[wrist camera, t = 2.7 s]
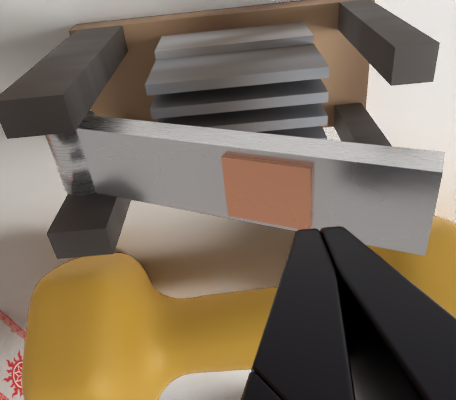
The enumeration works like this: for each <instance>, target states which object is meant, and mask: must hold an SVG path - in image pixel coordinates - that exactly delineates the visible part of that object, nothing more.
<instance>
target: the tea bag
mask: <svg viewBox="0 0 456 400" xmlns="http://www.w3.org/2000/svg"><path fill="white" fill-rule="evenodd" d="M25 336H26V333H25V332H24V331H23V330H22V329H21V328H19V327H18V326H17V325H16V324H15V323H14V322H13V321H12V320H10V319H9V318H8V317H7V316H6V315H5V314H4V313H2V312H1V311H0V400H24V396H23V392H22V364H23V354H24V345H25Z"/></svg>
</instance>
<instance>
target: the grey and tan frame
mask: <svg viewBox="0 0 456 400" xmlns="http://www.w3.org/2000/svg"><path fill="white" fill-rule="evenodd" d="M374 2H375V0H302V1H292V2H283V3H274V4H264V5H255V6H245V7H236V8H227V9H217V10H208V11H198V12H189V13H180V14H170V15H161V16H151V17H142V18H133V19H123V20H114V21H104V22H95V23H86V24H77V25H76V26H74V27H73V28H72V29H71V30H69V33H70V36H69V37H68V38H67V39H66V40H65V41H63V42H62V43H61V44H60V45H59V46H58V47H56V48H55V49H54V50H53V51H52V52H50V53H49V54H48V55H47V56H46V57H44V58H43V59H42V60H41V61H40V62H38V63H37V64H36V65H35V66H34V67H32V68H31V69H30V70H29V71H28V72H27V73H25V74H24V75H23V76H22V77H21V78H19V79H18V80H17V81H16V82H15V83H13V84H12V85H11V86H10V87H9V88H7V89H6V90H5V91H4V92H3V93H1V94H0V123H1V125H2V127H3V130H4V132H5V135H6V137H7V139H9V138H19V137H30V136H40V135H51V134H61V133H72V132H75V131H76V130H77V128H78V127H79V125H80V124H81V122H82V121H83V119H84V118H85V116H86V115H87V113H88V111H89V110H90V108H91V109H92V112H94V113H95V116H102V117H111V118H121V119H130V120H140V121H150V122H159V123H169V124H179V125H188V126H198V127H208V128H217V129H227V130H237V131H246V132H256V133H265V134H275V135H285V136H294V137H304V138H314V139H323V140H327V137H326V135H325V132H324V130H323V127H334V128H335V129H336V131H337V133H338V135H339V137H340V139H341V141H343V142H352V143H362V144H372V145H381V146H391V144H390V143H389V141H388V140H387V139H386V137H385V136H384V134H383V133H382V132H381V130H380V129H379V127H378V126H377V125H376V123H375V122H374V120H373V119H372V118H371V116H370V115H369V113H368V112H367V111H366V97H367V85H368V73H369V63H370V64H371V65H372V66H373V67H374V68H375V69H376V70H377V71H378V72H379V73H380V75H381V76H382V77H383V78H384V79H385V80H386V81H387V82H388V83H389V84H390V85H391V86H392V85H402V84H412V83H423V82H433V79H434V73H435V67H436V61H437V55H438V50H439V44H440V43H439V42H437V41H436V40H434V39H432V38H431V37H429V36H427V35H426V34H424V33H423V32H421V31H419V30H418V29H416V28H415V27H413V26H411V25H410V24H408V23H407V22H405V21H403V20H402V19H400V18H399V17H397V16H395V15H394V14H392V13H391V12H389V11H387V10H386V9H384V8H382V7H381V6H379V5H378V4H376V3H374ZM391 147H392V146H391ZM130 201H131V199H125V198H120V197H115V196H110V195H105V194H99V193H94V194H90V195H85V196H74V195H70V194H68V195H67V197H66V199H65V201H64V202H63V204H62V206H61V208H60V210H59V212H58V214H57V215H56V217H55V219H54V221H53V223H52V225H51V227H50V228H49V230H48V232H47V235H48V237H49V240H50V242H51V245H52V247H53V249H54V252H55V254H56V257H57V259H59V258H72V257H84V256H96V255H108V254H114V252H115V249H116V246H117V242H118V239H119V236H120V233H121V230H122V226H123V223H124V220H125V217H126V214H127V211H128V207H129V204H130Z"/></svg>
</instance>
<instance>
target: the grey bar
mask: <svg viewBox="0 0 456 400" xmlns="http://www.w3.org/2000/svg"><path fill="white" fill-rule="evenodd" d="M45 136H46V138H47V141H48V144H49V147H50V149H51V152H52V155H53V158H54V160H55V163H56V166H57V169H58V172H59V174H60V177H61V180H62V183H63V185H64V188H65V191H66V192H67V193H68V194H70V195H74V196H85V195H90V194H94V193H99V194H105V195H110V196H115V197H120V198H125V199H131V200H136V201H141V202H146V203H151V204H157V205H162V206H167V207H172V208H178V209H183V210H188V211H193V212H198V213H204V214H209V215H214V216H219V217H225V218H230V219H235V220H240V221H245V222H251V223H256V224H261V225H266V226H271V227H277V228H282V229H287V230H292V231H297V230H299V229H311V228H317V229H318V230H319V231H320V229H321V228H324V227H335V226H342V227H344V228H346V229H347V230H348V231H349V232H350V233H352V234H353V235H354V236H355V237H357V238H358V239H359V240H360V241H362V242H363V243H364V244H365V245H371V246H376V247H381V248H386V249H391V250H397V251H402V252H407V253H412V254H418V255H423V256H425V255H426V251H427V246H428V241H429V236H430V231H431V226H432V221H433V217H434V212H435V207H436V202H437V197H438V192H439V187H440V183H441V178H442V173H443V163H444V153H445V152H439V151H429V150H420V149H410V148H400V147H391V146H381V145H372V144H362V143H352V142H343V141H333V140H323V139H314V138H304V137H294V136H285V135H275V134H265V133H256V132H246V131H237V130H227V129H217V128H208V127H198V126H188V125H179V124H169V123H159V122H150V121H140V120H130V119H121V118H111V117H102V116H95V113H94V112H92V111H88V113H87V115H86V116H85V118H84V119H83V121H82V122H81V124H80V125H79V127H78V128H77V130H76V131H75V132H72V133H61V134H51V135H45Z"/></svg>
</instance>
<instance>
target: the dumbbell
mask: <svg viewBox="0 0 456 400" xmlns="http://www.w3.org/2000/svg"><path fill="white" fill-rule="evenodd" d="M366 246H368V247H369V248H370V249H371V250H373V251H374V252H375V253H376V254H378V255H379V256H380V257H381V258H382V259H384V260H385V261H386V262H387V263H389V264H390V265H391V266H392V267H394V268H395V269H396V270H397V271H398V272H400V273H401V274H402V275H403V276H405V277H406V278H407V279H408V280H410V281H411V282H412V283H413V284H414V285H416V286H417V287H418V288H419V289H421V290H422V291H423V292H424V293H426V294H427V295H428V296H429V297H430V298H432V299H433V300H434V301H435V302H437V303H438V304H439V305H440V306H442V307H443V308H444V309H445V310H446V311H448V312H449V313H450V314H451V315H453V316H454V317H455V318H456V224H455V223H453V222H451V221H449V220H446V219H443V218H440V217H437V216H434V217H433V221H432V226H431V231H430V236H429V241H428V246H427V251H426V255H425V256H423V255H418V254H412V253H407V252H402V251H397V250H391V249H386V248H381V247H376V246H371V245H366ZM277 288H278V286H277V287H270V288H262V289H253V290H245V291H237V292H229V293H220V294H212V295H206V296H200V297H194V298H185V299H177V298H172V297H168V296H166V295H163V294H162V293H160V292H159V291H157V290H156V289H155V287H154V286H153V285H152V283H151V281H150V279H149V277H148V275H147V273H146V271H145V270H144V269H143V267H142V266H141V265H140V263H139V262H138V261H137V260H135V259H134V258H133V257H132V256H130V255H127V254H123V253H114V254H108V255H96V256H85V257H80V258H76V259H74V260H71V261H69V262H67V263H64V264H62V265H61V266H59V267H57V268H55V269H54V270H52V271H50V272H49V273H48V274H46V275H45V276H44V277H43V278H41V279H40V281H39V282H38V284H37V285H36V287H35V289H34V291H33V294H32V297H31V301H30V306H29V311H28V319H27V327H26V336H25V345H24V354H23V364H22V392H23V396H24V400H159V398H160V395H161V394H162V392H163V390H164V389H165V388H166V387H167V386H168V385H169V383H171V382H172V381H173V380H175V379H176V378H178V377H181V376H183V375H186V374H191V373H200V372H219V371H232V370H246V369H251V368H252V365H253V362H254V359H255V356H256V353H257V350H258V347H259V344H260V340H261V337H262V334H263V331H264V328H265V325H266V322H267V319H268V316H269V313H270V310H271V306H272V303H273V300H274V297H275V294H276V291H277Z"/></svg>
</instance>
